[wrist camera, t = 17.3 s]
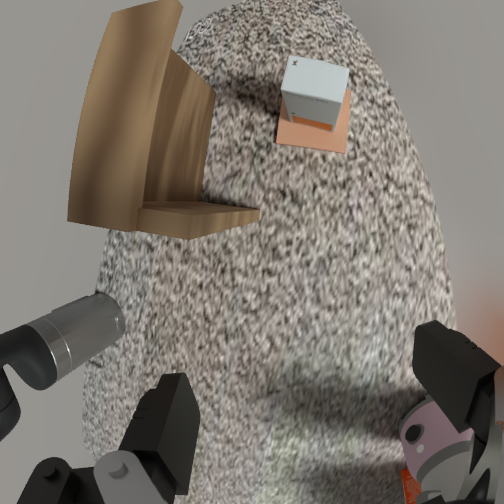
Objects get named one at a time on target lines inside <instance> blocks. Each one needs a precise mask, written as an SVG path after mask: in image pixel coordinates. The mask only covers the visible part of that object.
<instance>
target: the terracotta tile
mask: <svg viewBox="0 0 504 504" xmlns="http://www.w3.org/2000/svg"><path fill="white" fill-rule="evenodd" d="M350 97H351V90H345V94H344V99H343V103H342V106H341V110H340V113H339V117H338V120H337V124H336V127H335V131H334V132H329V131H326V130H322V129H319V128H315V127H311V126H307V125H302V124H298V123H293V122H290V120H289V116H288V113H287V110H286V106H285V103H284V100H283V97H282V102H281V110H280V117H279V124H278V132H277V139H276V144H281V145H289V146H297V147H304V148H311V149H318V150H325V151H331V152H337V153H343V154H345V152H346V142H347V132H348V122H349V110H350Z"/></svg>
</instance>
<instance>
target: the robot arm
mask: <svg viewBox="0 0 504 504" xmlns="http://www.w3.org/2000/svg"><path fill="white" fill-rule="evenodd" d="M124 330H125V322H124V317H123V314H122V312H121V309H120V308H119V306H118V304H117V303H116V302H115V301H114V300H113V299H112V298H111V297H109V296H108V295H106V294H103V293H96V294H93V295H91V296H85V297H83V298H81V299H78V300H76V301H73V302H71V303H68V304H66V305H64V306H62V307H59V308H57V309H55V310H52V312H51V313H49V314H47V315H45V316H42V317H40V318H38V319H36V320H34V321H31V322H29V323H27V324H24V325H22V326H20V327H18V328H15V329H13V330H10V331H8V332H5V333H3V334H0V441H1V440H2V439H3V438H4V437H6V435H8V434H9V433H10V432H11V430H12V429H13V428H14V427H15V425H16V424H17V422H18V420H19V418H20V414H21V410H20V406H19V403H18V401H17V399H16V396H15V394H14V392H13V390H12V387H11V385H10V383H9V381H8V378H7V376H6V374H5V371H4V369H3V366H4V365H5V364H9V365H10V366H11V367H12V368H13V369H14V370H15V371H16V373H17V374H18V375H19V376H20V377H21V379H23V381H24V382H25V383H26V384H28V385H29V386H30V387H32V388H34V389H36V390H45V389H47V388H48V387H50V386H51V385H53V384H54V383H56V382H57V381H59V380H60V379H61V378H63V377H64V376H66V375H67V374H69V373H70V372H72V371H73V370H74V369H76V368H77V367H79V366H80V365H82V364H83V363H85V362H86V361H88V360H89V359H91V358H92V357H94V356H95V355H97V354H98V353H100V352H101V351H103V350H104V349H105V348H107V347H109V346H110V345H111V344H113V343H114V342H116V341H117V340H119V339H120V338H121V337H122V335H123V333H124ZM412 367H413V371H414V374H415V376H416V378H417V379H418V380H419V382H420V383H421V384H422V385H423V387H424V388H425V389H426V391H427V392H428V393H429V394H430V396H431V397H432V398H433V400H434V401H435V402H436V404H437V405H438V406H439V407H440V409H441V410H442V411H443V413H444V414H445V415H446V417H447V418H448V419H449V421H450V422H451V423H452V425H453V426H454V427H455V429H456V430H457V432H458V433H459V434H460V433H462V432H464V431H466V430H468V429H470V428H472V430H473V431H474V432H473V434H472V437H471V443H470V450H469V456H468V462H467V467H466V472H465V477H464V481H463V484H462V487H461V489H460V491H459V493H458V496H457V498H456V500H453V501H447V502H445V501H444V499H443V497H442V495H439V496H437V497H435V498H432V499H430V500H428V501H426V502H424V503H422V504H504V366H501V365H500V364H499V363H498V362H496V361H495V360H494V359H493V358H492V357H491V356H489V355H488V354H487V353H486V352H485V351H483V350H482V349H481V348H479V347H477V345H476V344H474V342H471V341H470V339H468V338H467V337H466V336H465V335H463V334H462V333H460V332H457V331H455V330H452V329H447V328H446V327H445V326H444V325H443V324H441V323H440V322H439V321H437V320H433V321H431V322H428V323H425V324H422V325H419V326H417V327H416V329H415V337H414V349H413V359H412ZM132 418H133V419H131V421H130V423H129V426H128V428H127V430H126V433H125V435H124V437H123V439H122V442H121V444H120V446H119V449H118V451H112V452H109V453H107V454H105V455H104V456H102V457H101V458H100V459H99V460H98V461H97V462H96V464H95V466H94V467H88V468H79V469H78V468H77V469H72V468H71V467H70V466H69V465H68V463H67V462H66V461H65V460H63V459H61V458H58V457H51V458H47V459H45V460H43V461H41V462H40V463H39V464H38V465H37V466H36V467H35V469H34V471H33V473H32V474H31V476H30V478H29V480H28V482H27V484H26V486H25V488H24V490H23V492H22V494H21V496H20V498H19V500H18V502H17V504H173V503H174V498H175V495H188V489H189V483H190V477H191V471H192V465H193V459H194V453H195V448H196V442H197V436H198V431H199V425H200V411H199V407H198V404H197V401H196V399H195V396H194V393H193V391H192V388H191V385H190V383H189V380H188V377H187V375H186V374H185V373H171V374H163V375H162V376H161V378H160V380H159V383H158V385H157V388H156V389H150V390H149V391H148V392H147V393H146V394H145V395H144V396H143V397H142V398H141V399H140V401H139V403H138V406H137V408H136V411H135V412H134V414H133V417H132Z"/></svg>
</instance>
